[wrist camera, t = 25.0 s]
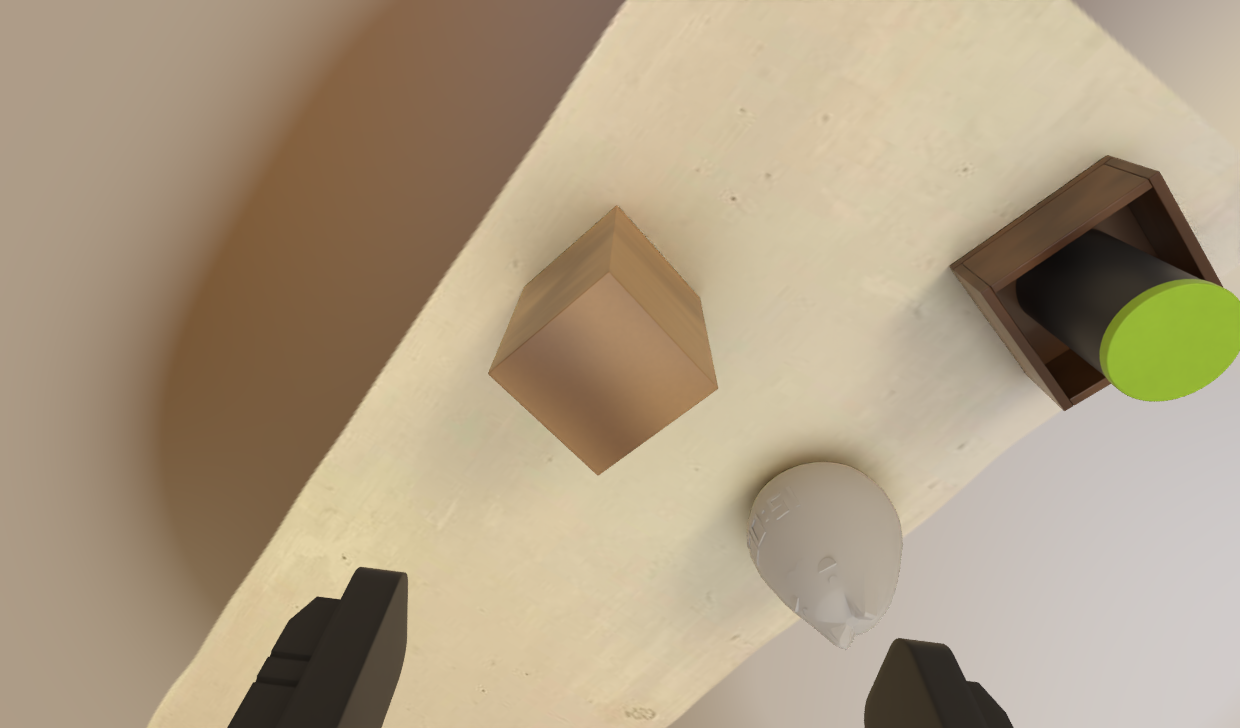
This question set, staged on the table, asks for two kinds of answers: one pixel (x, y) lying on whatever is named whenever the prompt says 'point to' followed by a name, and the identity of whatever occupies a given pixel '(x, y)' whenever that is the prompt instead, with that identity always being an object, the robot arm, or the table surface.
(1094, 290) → the ball tube
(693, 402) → the stand
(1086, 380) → the bin
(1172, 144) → the table surface
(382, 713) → the robot arm
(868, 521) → the toy character
